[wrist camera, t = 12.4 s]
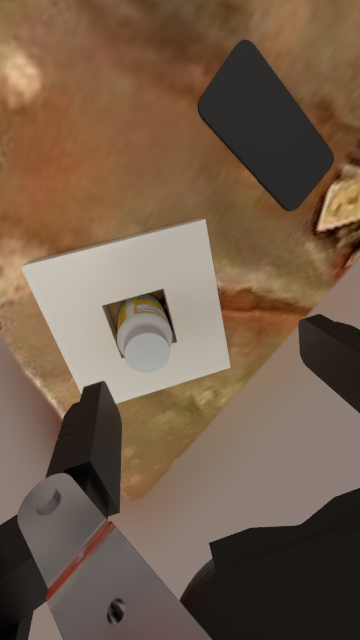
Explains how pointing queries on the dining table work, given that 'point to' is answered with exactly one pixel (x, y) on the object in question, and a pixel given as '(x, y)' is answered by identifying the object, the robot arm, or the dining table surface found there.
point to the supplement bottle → (144, 333)
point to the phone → (265, 127)
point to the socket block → (126, 282)
